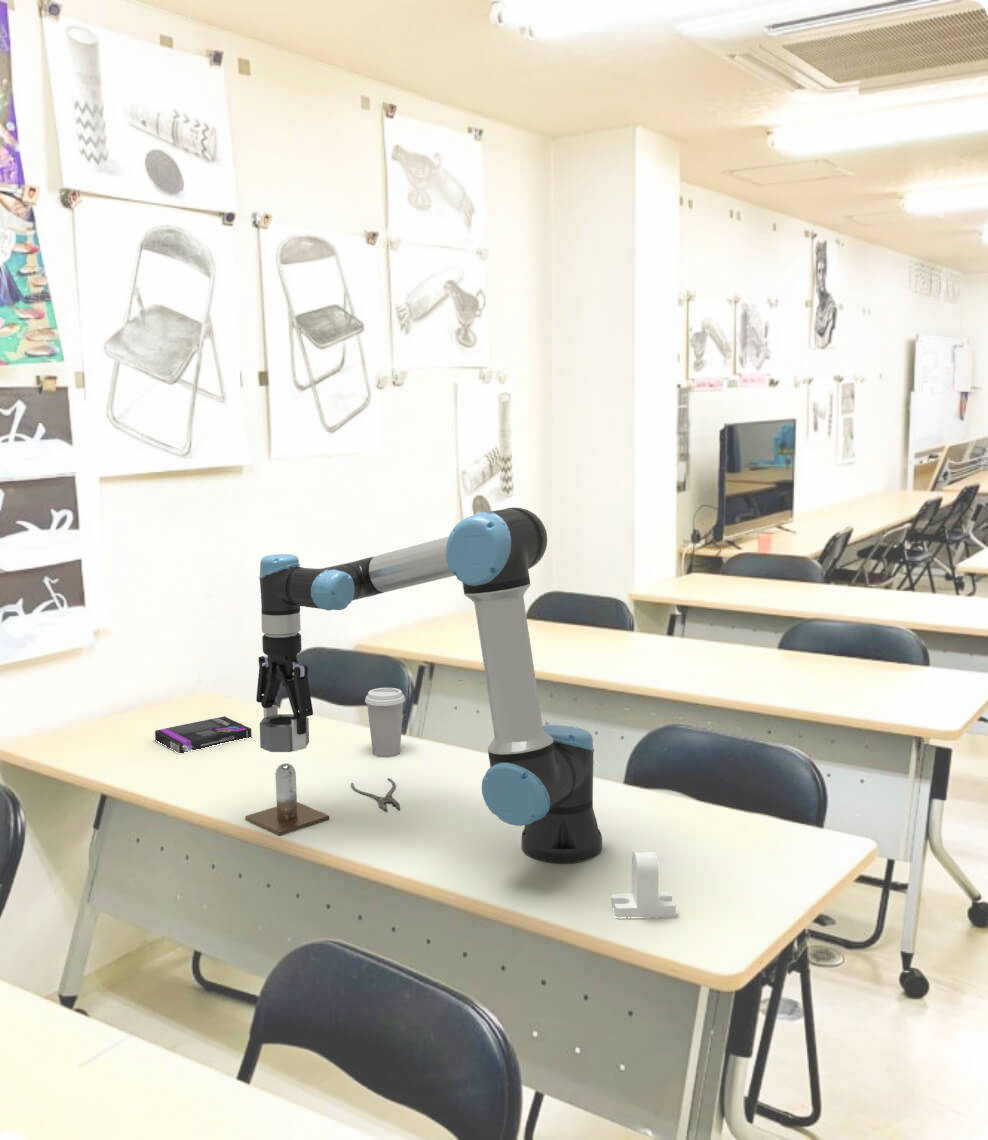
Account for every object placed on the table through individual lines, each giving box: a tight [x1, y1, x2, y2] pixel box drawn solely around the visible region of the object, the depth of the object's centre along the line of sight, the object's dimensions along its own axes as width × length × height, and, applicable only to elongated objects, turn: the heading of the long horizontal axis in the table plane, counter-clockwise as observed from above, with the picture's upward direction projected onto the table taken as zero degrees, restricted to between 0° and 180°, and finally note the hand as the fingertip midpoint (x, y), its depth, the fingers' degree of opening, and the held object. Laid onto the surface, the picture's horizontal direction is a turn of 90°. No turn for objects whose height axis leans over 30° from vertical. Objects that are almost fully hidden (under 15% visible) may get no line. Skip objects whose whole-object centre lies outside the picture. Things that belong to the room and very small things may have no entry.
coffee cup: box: [364, 687, 406, 758], centre depth 264 cm, size 10×10×15 cm
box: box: [154, 716, 253, 754], centre depth 277 cm, size 14×4×20 cm
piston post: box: [244, 763, 331, 837], centre depth 223 cm, size 12×12×12 cm
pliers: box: [350, 777, 401, 813], centre depth 238 cm, size 10×1×20 cm
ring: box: [259, 713, 310, 753], centre depth 221 cm, size 9×9×5 cm
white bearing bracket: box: [610, 851, 677, 918], centre depth 182 cm, size 5×10×10 cm, turn 93°
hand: (285, 743), depth 222 cm, fingers closed on ring, 9 cm apart
